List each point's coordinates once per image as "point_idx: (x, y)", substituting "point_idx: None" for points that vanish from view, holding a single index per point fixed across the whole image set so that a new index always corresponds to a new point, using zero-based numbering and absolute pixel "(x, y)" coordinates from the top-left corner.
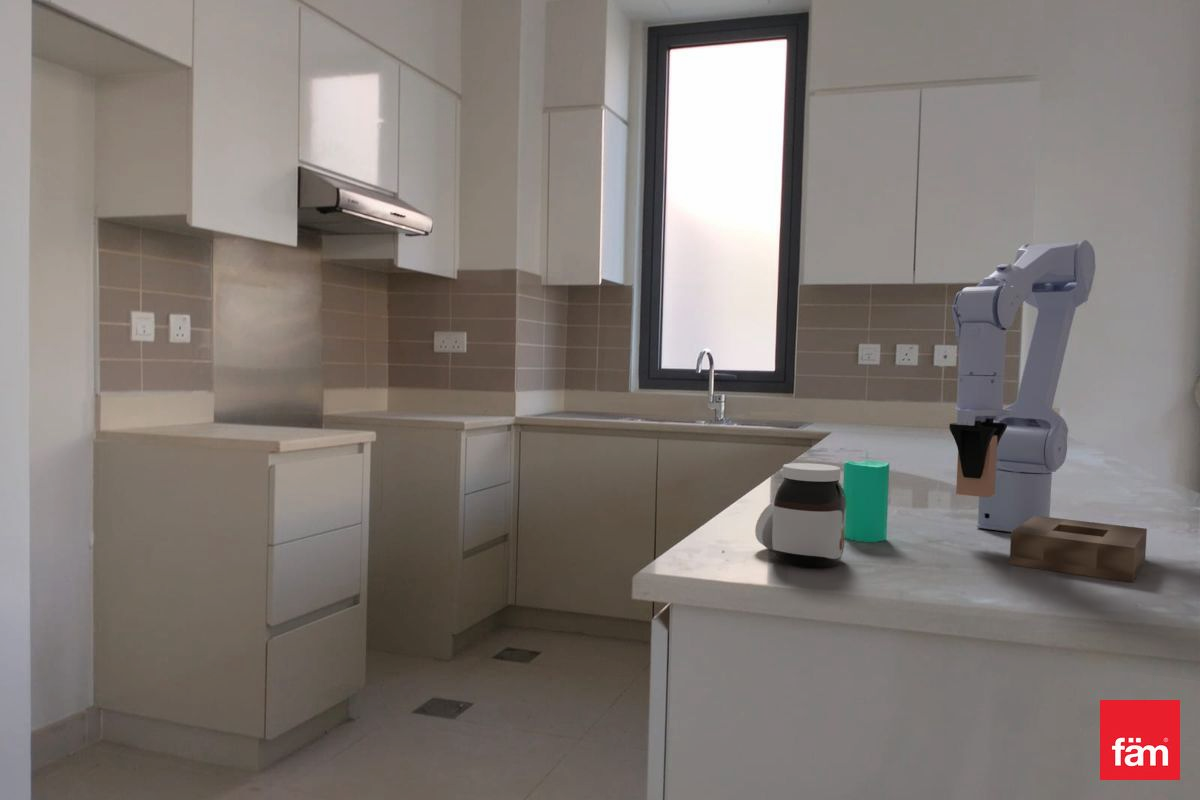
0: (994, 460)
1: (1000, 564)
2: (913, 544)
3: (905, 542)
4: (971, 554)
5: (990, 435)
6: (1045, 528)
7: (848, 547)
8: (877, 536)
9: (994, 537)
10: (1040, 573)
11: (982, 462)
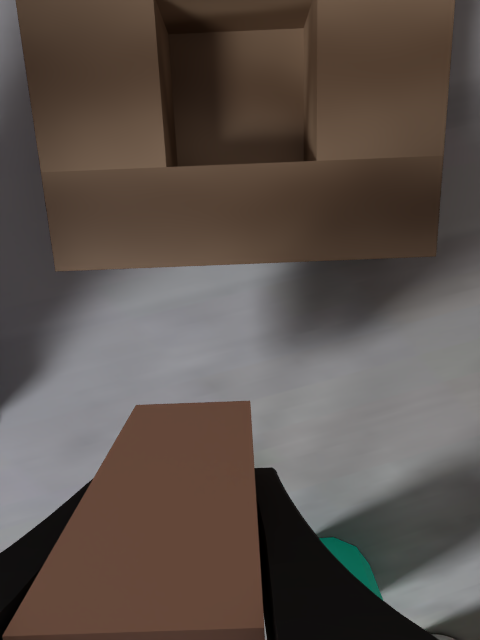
0: (129, 491)
1: (408, 268)
2: (316, 480)
3: (306, 500)
4: (337, 351)
5: (396, 627)
6: (292, 185)
7: (449, 563)
8: (351, 553)
9: (71, 366)
10: (450, 165)
11: (296, 508)
